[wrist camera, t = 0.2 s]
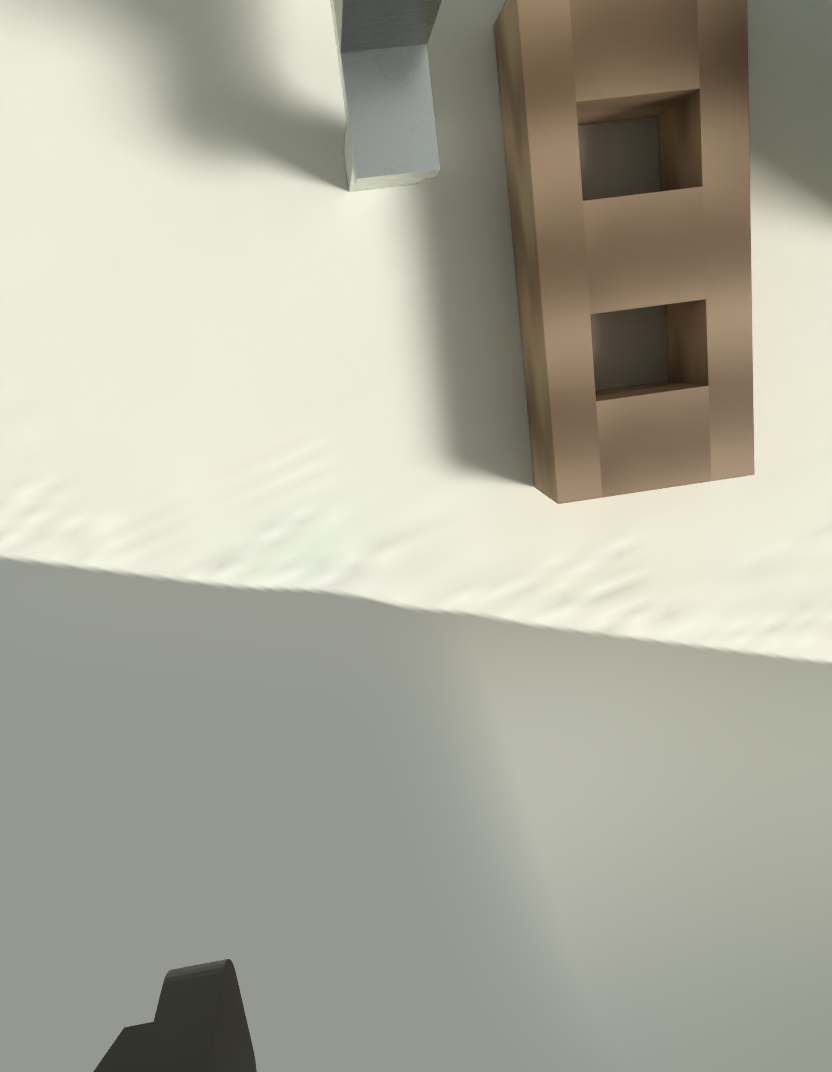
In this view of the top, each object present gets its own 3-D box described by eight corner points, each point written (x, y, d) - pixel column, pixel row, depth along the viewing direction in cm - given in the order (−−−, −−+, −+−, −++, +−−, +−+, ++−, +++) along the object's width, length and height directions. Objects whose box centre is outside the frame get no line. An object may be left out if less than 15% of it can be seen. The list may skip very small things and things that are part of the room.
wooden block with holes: (493, 24, 33) (515, -17, 29) (698, 4, 34) (746, -39, 30) (534, 487, 38) (558, 504, 34) (711, 461, 39) (754, 474, 35)
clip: (311, -84, 31) (302, -320, 20) (385, -91, 32) (417, -328, 20) (351, 208, 34) (363, 144, 23) (419, 200, 34) (463, 134, 23)
